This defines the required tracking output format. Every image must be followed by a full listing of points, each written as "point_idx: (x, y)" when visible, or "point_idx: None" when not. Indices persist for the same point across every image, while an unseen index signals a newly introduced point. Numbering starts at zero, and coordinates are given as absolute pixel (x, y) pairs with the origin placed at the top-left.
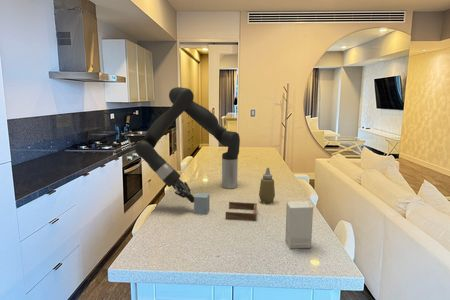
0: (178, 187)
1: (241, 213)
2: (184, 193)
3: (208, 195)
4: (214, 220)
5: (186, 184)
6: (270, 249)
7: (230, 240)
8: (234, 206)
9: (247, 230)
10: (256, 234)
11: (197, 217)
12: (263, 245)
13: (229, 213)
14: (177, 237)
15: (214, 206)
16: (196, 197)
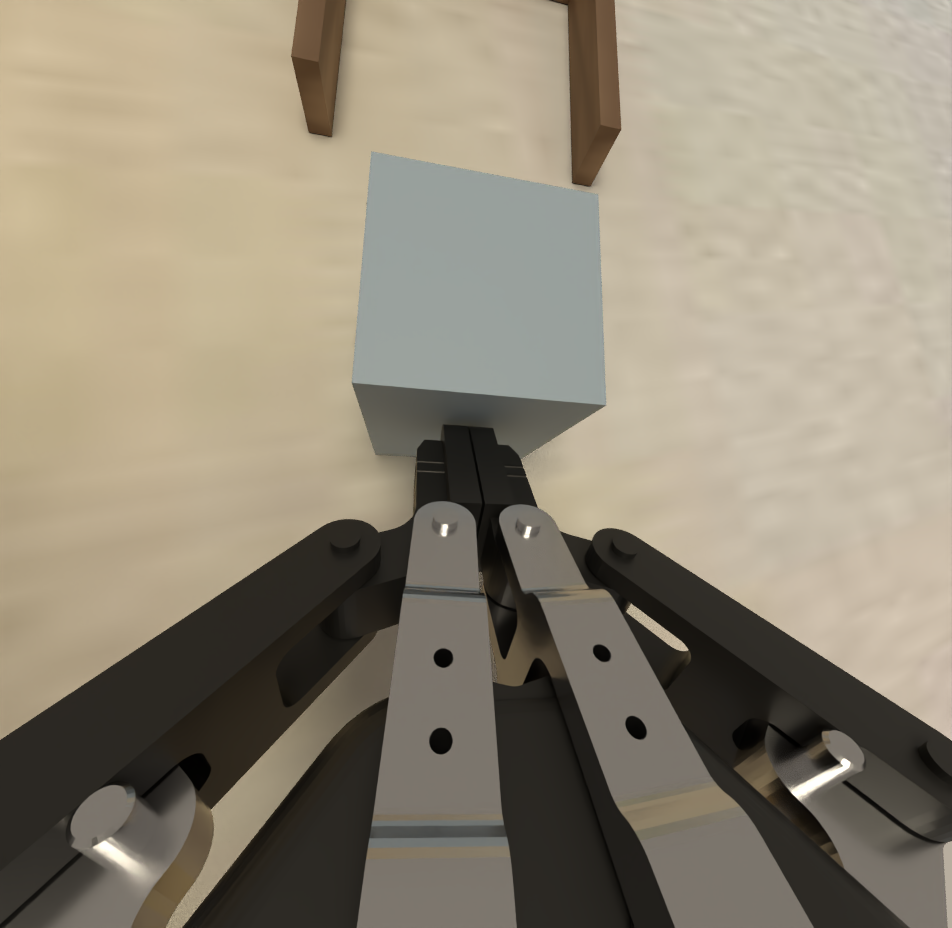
0: (869, 894)
1: (614, 9)
2: (705, 592)
3: (468, 174)
4: (631, 269)
5: (99, 752)
6: (893, 19)
7: (874, 181)
8: (333, 62)
9: (734, 73)
10: (770, 38)
11: (599, 414)
12: (869, 37)
13: (615, 105)
14: (943, 499)
15: (276, 272)
16: (602, 363)
